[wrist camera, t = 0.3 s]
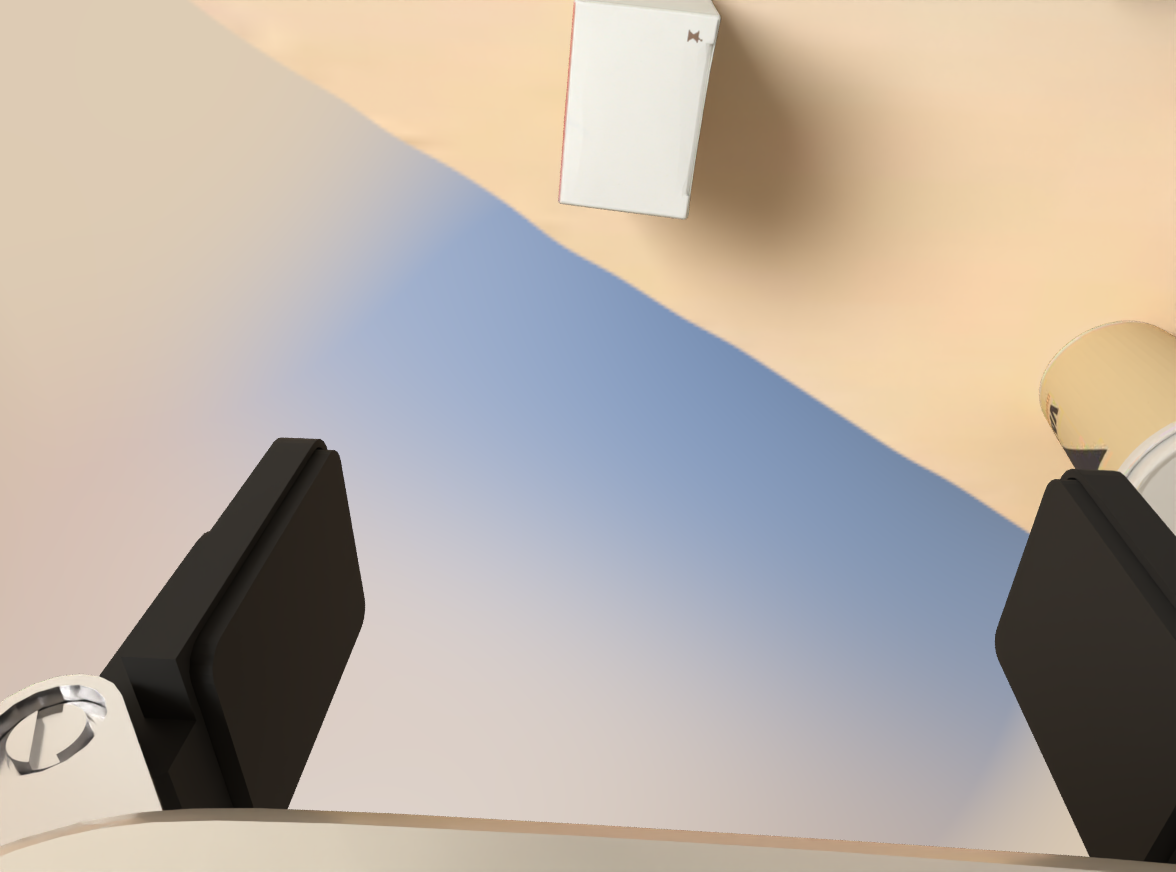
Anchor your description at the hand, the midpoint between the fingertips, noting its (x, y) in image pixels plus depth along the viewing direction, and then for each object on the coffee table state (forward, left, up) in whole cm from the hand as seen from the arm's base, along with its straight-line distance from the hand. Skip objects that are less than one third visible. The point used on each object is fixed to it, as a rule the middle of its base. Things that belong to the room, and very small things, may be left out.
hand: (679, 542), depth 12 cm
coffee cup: (+29, +11, -37) cm, 48 cm away
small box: (-1, -1, -37) cm, 37 cm away
